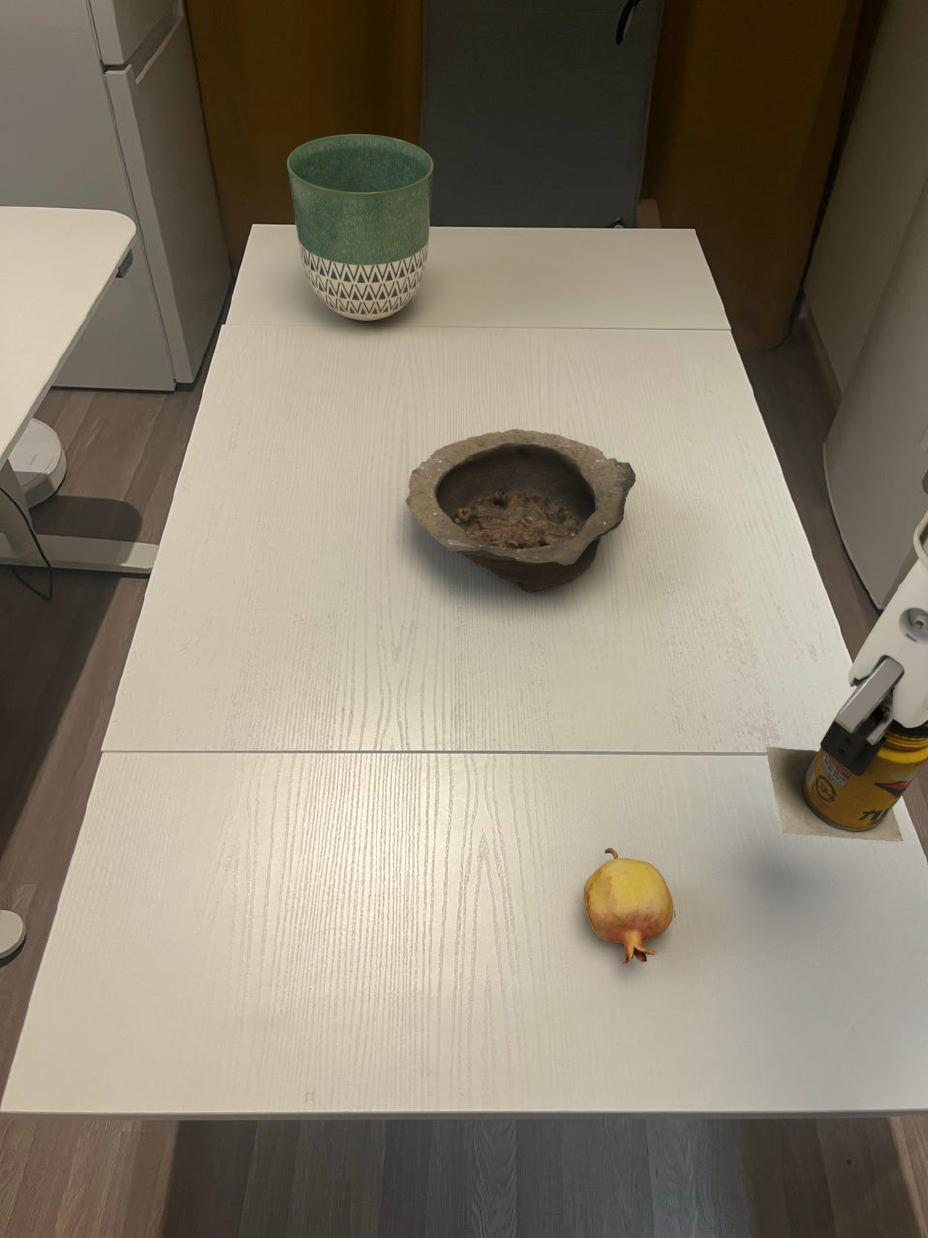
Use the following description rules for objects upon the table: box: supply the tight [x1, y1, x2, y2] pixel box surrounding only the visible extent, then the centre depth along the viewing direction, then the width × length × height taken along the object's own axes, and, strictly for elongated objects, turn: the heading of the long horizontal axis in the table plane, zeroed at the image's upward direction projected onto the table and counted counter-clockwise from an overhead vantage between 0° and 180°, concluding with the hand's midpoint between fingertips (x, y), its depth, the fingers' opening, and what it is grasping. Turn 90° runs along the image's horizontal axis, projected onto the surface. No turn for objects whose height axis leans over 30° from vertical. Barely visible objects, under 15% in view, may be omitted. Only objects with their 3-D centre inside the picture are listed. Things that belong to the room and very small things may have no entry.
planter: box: [286, 133, 435, 322], centre depth 127 cm, size 20×20×21 cm
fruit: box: [583, 847, 674, 965], centre depth 70 cm, size 7×7×10 cm
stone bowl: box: [405, 428, 637, 592], centre depth 100 cm, size 25×25×9 cm
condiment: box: [765, 688, 928, 843], centre depth 61 cm, size 7×8×12 cm
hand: (871, 732), depth 61 cm, fingers closed on condiment, 6 cm apart
